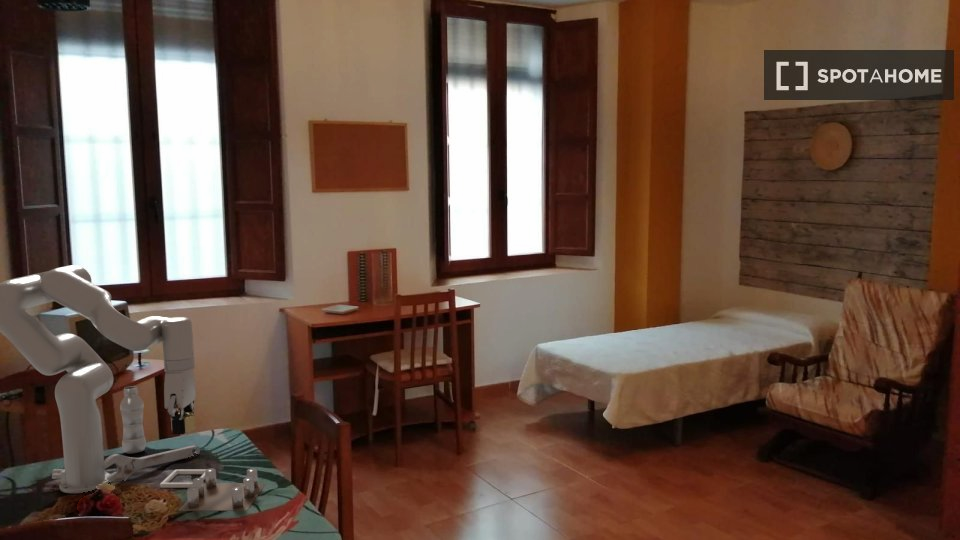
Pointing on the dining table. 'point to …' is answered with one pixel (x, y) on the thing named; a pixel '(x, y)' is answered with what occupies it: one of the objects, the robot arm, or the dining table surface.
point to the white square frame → (181, 485)
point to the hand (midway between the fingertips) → (183, 429)
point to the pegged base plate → (210, 476)
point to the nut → (188, 421)
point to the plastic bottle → (132, 421)
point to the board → (222, 498)
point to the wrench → (144, 461)
